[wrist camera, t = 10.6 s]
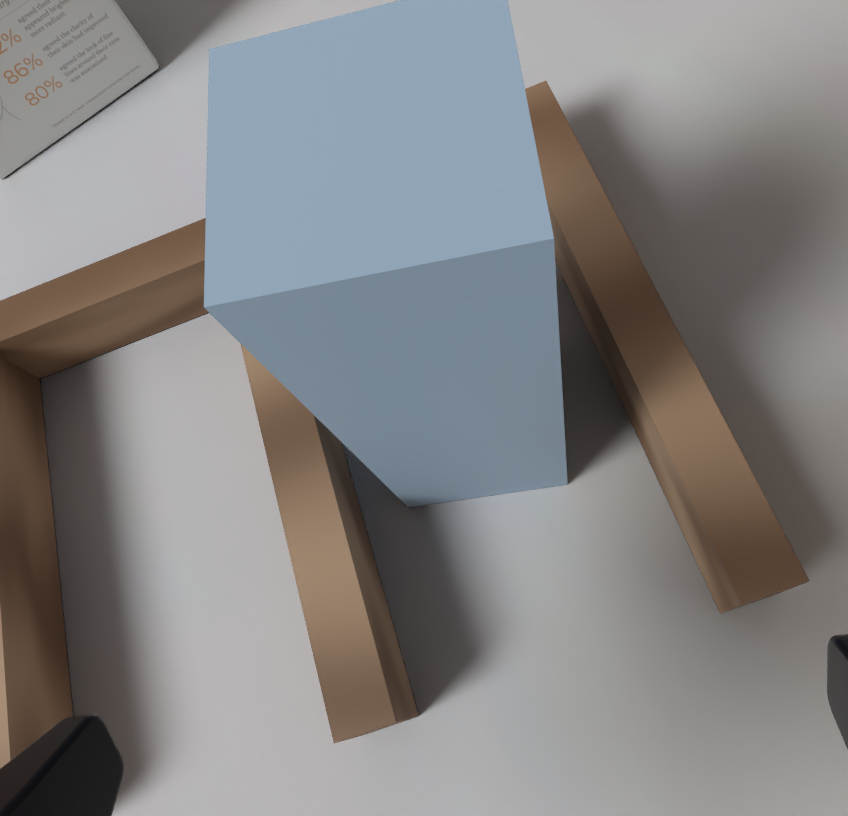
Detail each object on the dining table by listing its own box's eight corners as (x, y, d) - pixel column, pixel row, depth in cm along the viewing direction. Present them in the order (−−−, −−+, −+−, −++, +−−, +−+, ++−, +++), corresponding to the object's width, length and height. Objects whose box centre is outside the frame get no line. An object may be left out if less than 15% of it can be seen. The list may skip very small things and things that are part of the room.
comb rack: (778, 593, 17) (809, 581, 15) (34, 847, 19) (-41, 871, 17) (549, 138, 24) (546, 80, 21) (-2, 357, 25) (-61, 325, 23)
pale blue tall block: (541, 338, 21) (502, -26, 10) (567, 484, 19) (553, 238, 8) (395, 364, 22) (209, 49, 11) (408, 507, 20) (203, 307, 9)
